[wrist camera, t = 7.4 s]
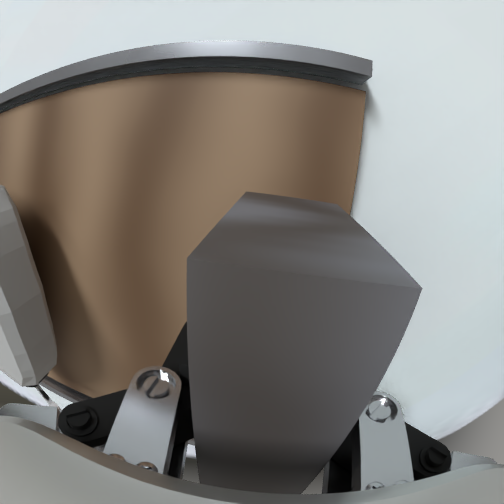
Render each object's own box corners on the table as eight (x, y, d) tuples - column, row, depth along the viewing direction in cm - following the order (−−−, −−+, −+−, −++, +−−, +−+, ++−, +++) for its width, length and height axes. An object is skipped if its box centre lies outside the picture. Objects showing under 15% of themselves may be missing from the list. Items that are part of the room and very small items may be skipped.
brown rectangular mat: (361, 94, 8) (474, 23, 2) (282, 437, 14) (276, 528, 8) (-47, 138, 9) (-102, 152, 3) (-15, 331, 16) (-53, 365, 9)
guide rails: (362, 70, 7) (372, 60, 6) (279, 443, 14) (278, 457, 13) (-65, 141, 9) (-73, 142, 8) (-38, 316, 16) (-44, 320, 15)
